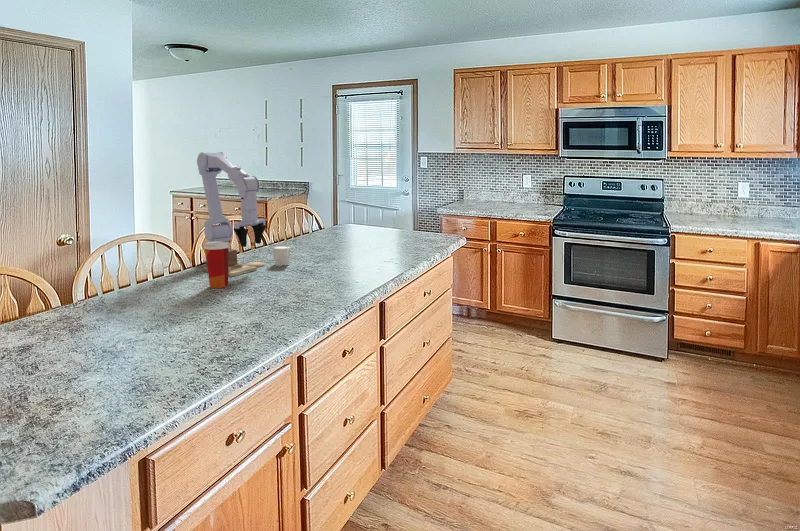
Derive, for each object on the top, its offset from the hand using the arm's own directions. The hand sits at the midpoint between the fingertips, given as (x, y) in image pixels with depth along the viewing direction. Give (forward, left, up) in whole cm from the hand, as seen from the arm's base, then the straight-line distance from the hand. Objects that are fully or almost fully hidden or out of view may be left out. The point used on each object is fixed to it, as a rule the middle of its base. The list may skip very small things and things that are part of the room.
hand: (251, 245), depth 217 cm
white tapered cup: (+2, +14, -10) cm, 18 cm away
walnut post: (-7, -5, -10) cm, 13 cm away
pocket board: (-7, -5, -10) cm, 13 cm away
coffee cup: (+8, -24, -10) cm, 27 cm away
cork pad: (-6, +7, -10) cm, 13 cm away
